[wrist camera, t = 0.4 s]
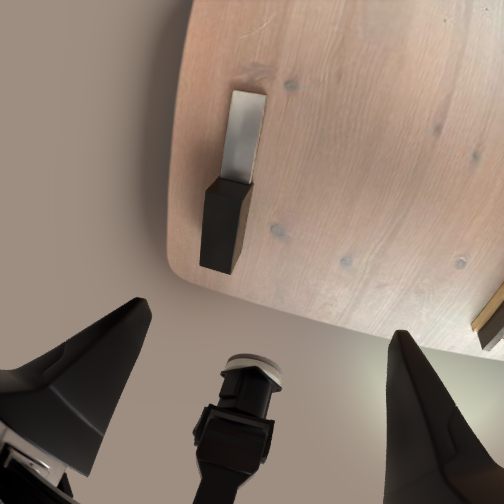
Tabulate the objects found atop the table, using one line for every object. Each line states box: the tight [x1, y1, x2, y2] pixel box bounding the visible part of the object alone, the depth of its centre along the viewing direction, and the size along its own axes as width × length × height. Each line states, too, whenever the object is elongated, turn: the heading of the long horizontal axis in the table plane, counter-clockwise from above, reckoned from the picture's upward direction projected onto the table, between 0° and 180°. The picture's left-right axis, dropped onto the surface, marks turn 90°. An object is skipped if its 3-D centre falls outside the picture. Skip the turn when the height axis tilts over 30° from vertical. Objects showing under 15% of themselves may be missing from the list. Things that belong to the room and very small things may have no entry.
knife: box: [199, 89, 268, 275], centre depth 21 cm, size 14×3×3 cm, turn 170°
